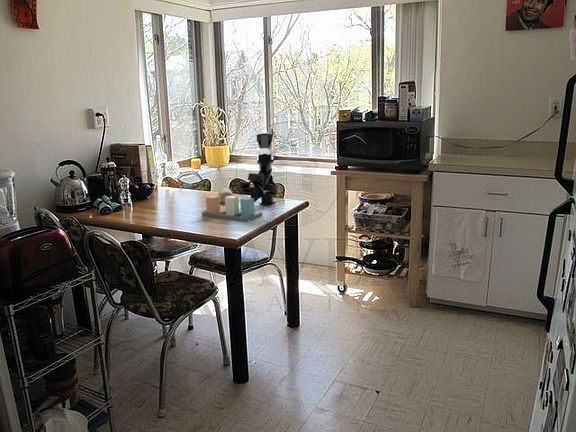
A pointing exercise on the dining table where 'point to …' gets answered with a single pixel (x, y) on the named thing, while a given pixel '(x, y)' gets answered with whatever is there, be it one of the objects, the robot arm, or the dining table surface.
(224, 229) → the dining table surface
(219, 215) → the grey tray
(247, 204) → the teal block
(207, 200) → the pink upright block
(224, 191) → the ceramic mug
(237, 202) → the white rectangular block
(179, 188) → the dining table surface
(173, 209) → the dining table surface
